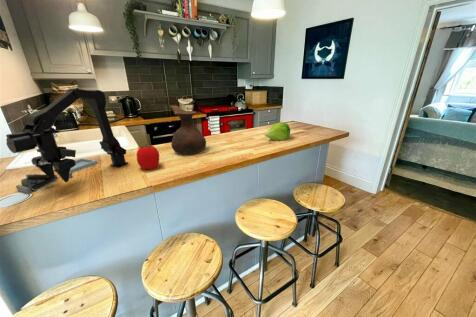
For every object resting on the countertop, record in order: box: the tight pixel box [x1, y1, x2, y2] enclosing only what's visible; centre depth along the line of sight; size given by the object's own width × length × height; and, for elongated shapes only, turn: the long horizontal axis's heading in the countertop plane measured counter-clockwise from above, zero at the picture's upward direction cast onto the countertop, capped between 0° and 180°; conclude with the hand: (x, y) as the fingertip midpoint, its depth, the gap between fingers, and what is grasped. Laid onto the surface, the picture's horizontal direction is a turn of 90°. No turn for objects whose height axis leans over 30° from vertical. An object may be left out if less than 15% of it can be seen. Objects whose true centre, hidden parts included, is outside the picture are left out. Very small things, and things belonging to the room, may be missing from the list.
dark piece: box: [20, 173, 59, 192], centre depth 90 cm, size 10×7×12 cm
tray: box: [53, 157, 99, 174], centre depth 110 cm, size 12×15×2 cm
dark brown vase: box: [169, 105, 207, 156], centre depth 127 cm, size 22×22×30 cm
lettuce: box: [264, 121, 291, 142], centre depth 151 cm, size 15×22×15 cm, turn 115°
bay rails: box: [15, 172, 74, 195], centre depth 92 cm, size 8×17×3 cm, turn 159°
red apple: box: [136, 143, 160, 170], centre depth 107 cm, size 12×12×13 cm
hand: (60, 180), depth 87 cm, fingers open, 9 cm apart
